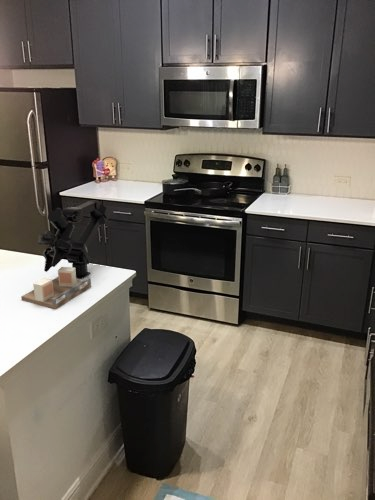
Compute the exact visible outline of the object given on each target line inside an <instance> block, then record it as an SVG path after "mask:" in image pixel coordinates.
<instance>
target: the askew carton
mask: <svg viewBox="0 0 375 500" xmlns="http://www.w3.org/2000/svg"><path fill="white" fill-rule="evenodd" d="M57 277H58V278H59V286H65V287H73V286H75V284H76V283H77V282H76V280H77V278H76V270H75V268H73V267H72V266H70V267H68V266H60V268H59V269H58V270H57Z"/></svg>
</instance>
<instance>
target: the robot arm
mask: <svg viewBox="0 0 375 500" xmlns="http://www.w3.org/2000/svg"><path fill="white" fill-rule="evenodd" d="M88 214H89V218H90V220H89V221H88V224H87V225H86V227H85V228H84V230H83V232H82V234H81V236H80V237H79V238H78V240H77V241H72V242H70V241H71V236H72V234H73V232H77V229H76V226H75V224H74V223H76V224H77V223H80V222H81V221H82V220H83V217H85V215H88ZM110 216H111V212H110V211H109V209H108V208H107V206H105V205H103V204H101V202H100V201H98V200H91V199H90V200H87V201H86V202H84V203H82V204H80V205H78V206H76V207H75V206H74V207H65V208H63V209H62V208H61V207H56V208H55V209H54V210H52V211H50V212H49V214H48V215H47V220H48V221H49V223H51V224H52V226H53V227H54V228H55V229H57V231H56V233H55V234H53V232H52V231H51V230H46V231H45V232H43V233H40V234H39V235H37V236H38V237H37V238H38V240H37V241H38V242H37V244H38V245H45V246H46V245H47V246H48V248H46V249H44V250H43V252H42V254H41V255H42V257H44V260H45V261H44V269H43V270H44V272H46V273H48V271H49V270H50V269H51V268H52V267H53V268H55V267H56V266H57V265H58V264H59V263H60V262H61V261H62V260H63V259H64V258H65V257H66V260H67V263H68V264H71V265H72V266H71V267H73V268H75V270H76V279H85V277H88V276H90V275H91V272H89V271H88V265H89V264H90V262H91V259H92V258H91V256H90V255H89V252H88V247H89V245H90V244H91V242H92V240H93V239H94V237H95V235H96V233H97V231H98V230H99V228H100V227H101V226H102V225H104V224H106V223H107V222H108V220H109V219H110Z"/></svg>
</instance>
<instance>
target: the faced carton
mask: <svg viewBox="0 0 375 500" xmlns="http://www.w3.org/2000/svg"><path fill="white" fill-rule="evenodd" d="M52 280H53V279H50V278H46V277H43V278H41V279H39V280H37V281H35V282H34V283H33V284H32V285H33V290H34V294H35V300H37V301H41V302H44V301H46V300H48V299H49V298H51V297H53V296H54V292H53V282H52Z"/></svg>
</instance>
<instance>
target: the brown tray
mask: <svg viewBox="0 0 375 500" xmlns="http://www.w3.org/2000/svg"><path fill="white" fill-rule="evenodd" d="M51 280H52V282H53V292H54V296H53V297H51V298H49V299H48V300H46V301H44V302H41V301H37V300H35V294H34V289H32V290H31V291H29V292H26V293H25V294H23V295H21V301H25V302H29V303H31V304H36V305H38V306H43V307H45V308H46V307H47V308H50V309H53V310H57V309H58V308H60V307H61V306H63V305H64V304H66V303H68V302H69V301H71V300H73V299H74V298H76V297H78V296H79V295H80V294H83V293H84V292H85V291H87V290H89V289H90V288H92V279H91V277H87V278H84V280H82V281H81V280H78V279H76V282H77V283H76V284H75V286H73V287H65V286H59V278H58V276H57V277H55V278H53V279H51Z"/></svg>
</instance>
